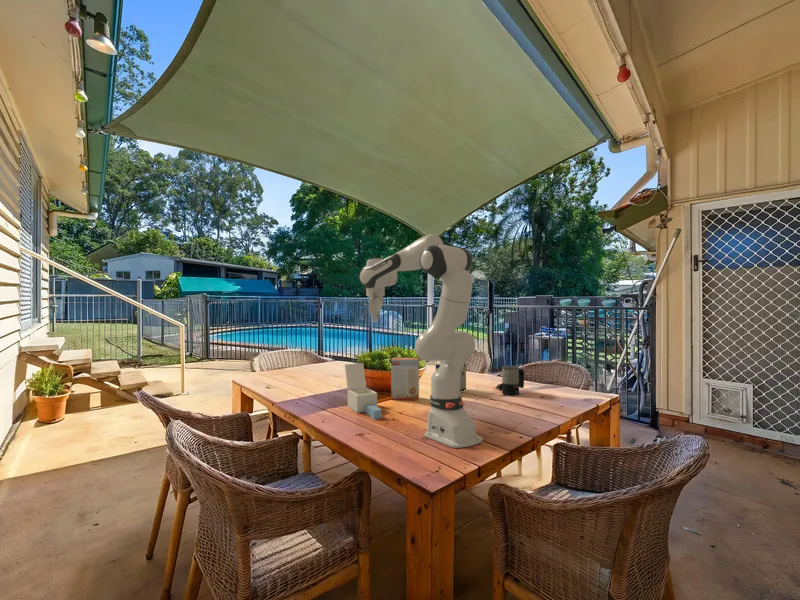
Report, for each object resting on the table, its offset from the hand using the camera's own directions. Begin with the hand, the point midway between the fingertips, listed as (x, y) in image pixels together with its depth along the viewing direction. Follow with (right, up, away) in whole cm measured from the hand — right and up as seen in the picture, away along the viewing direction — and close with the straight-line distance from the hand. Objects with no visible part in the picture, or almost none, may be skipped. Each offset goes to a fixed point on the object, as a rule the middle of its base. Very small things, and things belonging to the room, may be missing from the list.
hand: (376, 320), depth 184 cm
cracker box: (+14, -41, +11) cm, 45 cm away
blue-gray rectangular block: (0, -41, -17) cm, 45 cm away
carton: (-6, -41, -6) cm, 42 cm away
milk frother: (+70, -41, +23) cm, 85 cm away
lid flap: (-10, -27, +1) cm, 29 cm away
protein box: (+40, -41, +25) cm, 62 cm away
